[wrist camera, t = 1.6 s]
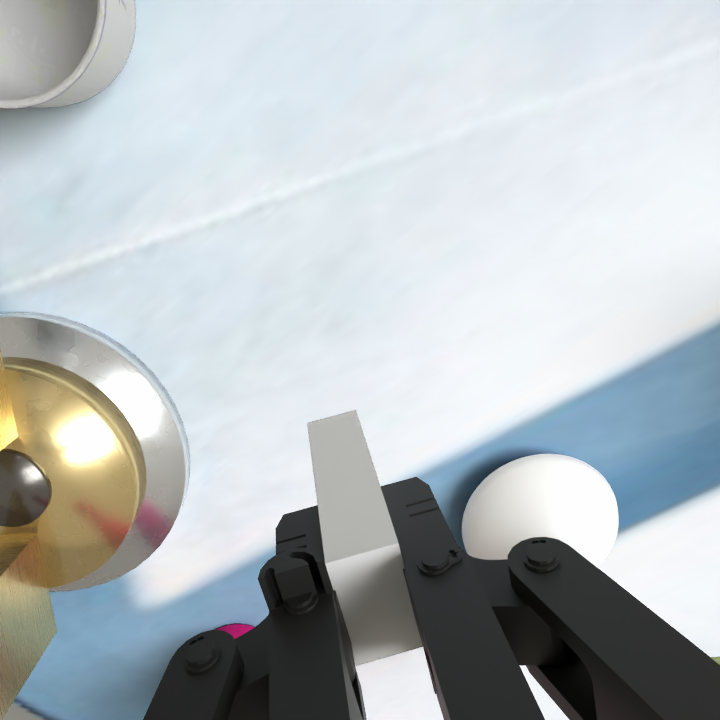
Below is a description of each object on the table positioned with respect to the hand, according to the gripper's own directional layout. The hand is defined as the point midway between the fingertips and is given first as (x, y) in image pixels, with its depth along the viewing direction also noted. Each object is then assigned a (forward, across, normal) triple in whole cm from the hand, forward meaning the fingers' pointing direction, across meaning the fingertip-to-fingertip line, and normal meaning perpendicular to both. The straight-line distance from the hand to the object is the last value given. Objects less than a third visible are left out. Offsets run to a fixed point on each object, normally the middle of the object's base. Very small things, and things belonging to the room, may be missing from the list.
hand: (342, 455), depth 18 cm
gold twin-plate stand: (+23, -21, -7) cm, 32 cm away
